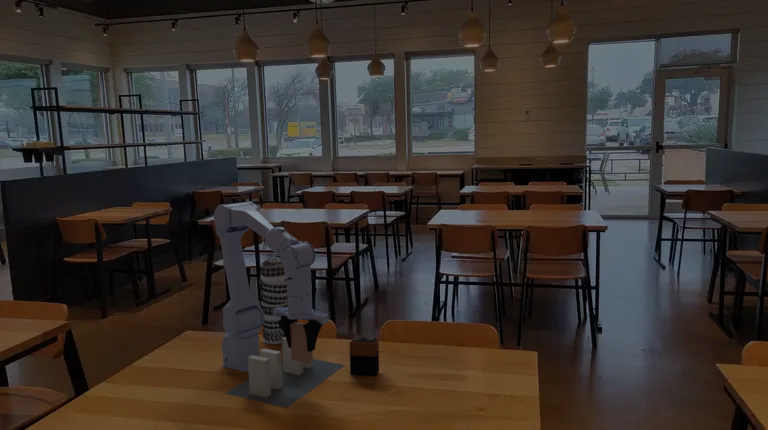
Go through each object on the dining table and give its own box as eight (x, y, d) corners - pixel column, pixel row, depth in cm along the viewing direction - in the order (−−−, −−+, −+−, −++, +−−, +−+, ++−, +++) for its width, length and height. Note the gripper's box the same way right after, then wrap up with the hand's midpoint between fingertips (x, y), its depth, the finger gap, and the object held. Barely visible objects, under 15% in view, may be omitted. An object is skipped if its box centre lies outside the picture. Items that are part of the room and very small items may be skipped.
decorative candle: (277, 332, 177) (273, 254, 173) (298, 338, 172) (295, 257, 168) (255, 341, 169) (250, 260, 166) (276, 347, 164) (272, 263, 161)
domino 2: (278, 389, 136) (276, 354, 135) (261, 385, 138) (259, 350, 137) (282, 386, 137) (280, 351, 136) (265, 383, 140) (264, 348, 138)
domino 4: (299, 375, 144) (298, 341, 143) (283, 371, 146) (282, 338, 145) (303, 372, 145) (301, 339, 144) (287, 369, 148) (285, 336, 146)
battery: (376, 378, 142) (375, 340, 141) (350, 376, 144) (348, 339, 142) (379, 371, 146) (378, 334, 145) (354, 369, 148) (353, 333, 146)
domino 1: (266, 397, 132) (264, 360, 131) (249, 393, 134) (247, 357, 133) (270, 394, 133) (269, 358, 132) (254, 390, 136) (252, 355, 134)
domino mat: (225, 394, 135) (225, 393, 135) (289, 355, 158) (289, 354, 158) (287, 409, 127) (287, 407, 127) (345, 366, 150) (345, 364, 150)
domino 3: (308, 363, 134) (307, 327, 133) (291, 359, 136) (290, 324, 135) (312, 360, 135) (311, 324, 134) (295, 357, 138) (294, 322, 136)
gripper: (264, 294, 133) (267, 349, 135) (315, 301, 127) (317, 359, 129) (282, 287, 139) (284, 339, 141) (332, 293, 133) (334, 348, 135)
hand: (301, 348), depth 135 cm, fingers closed on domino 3, 5 cm apart
